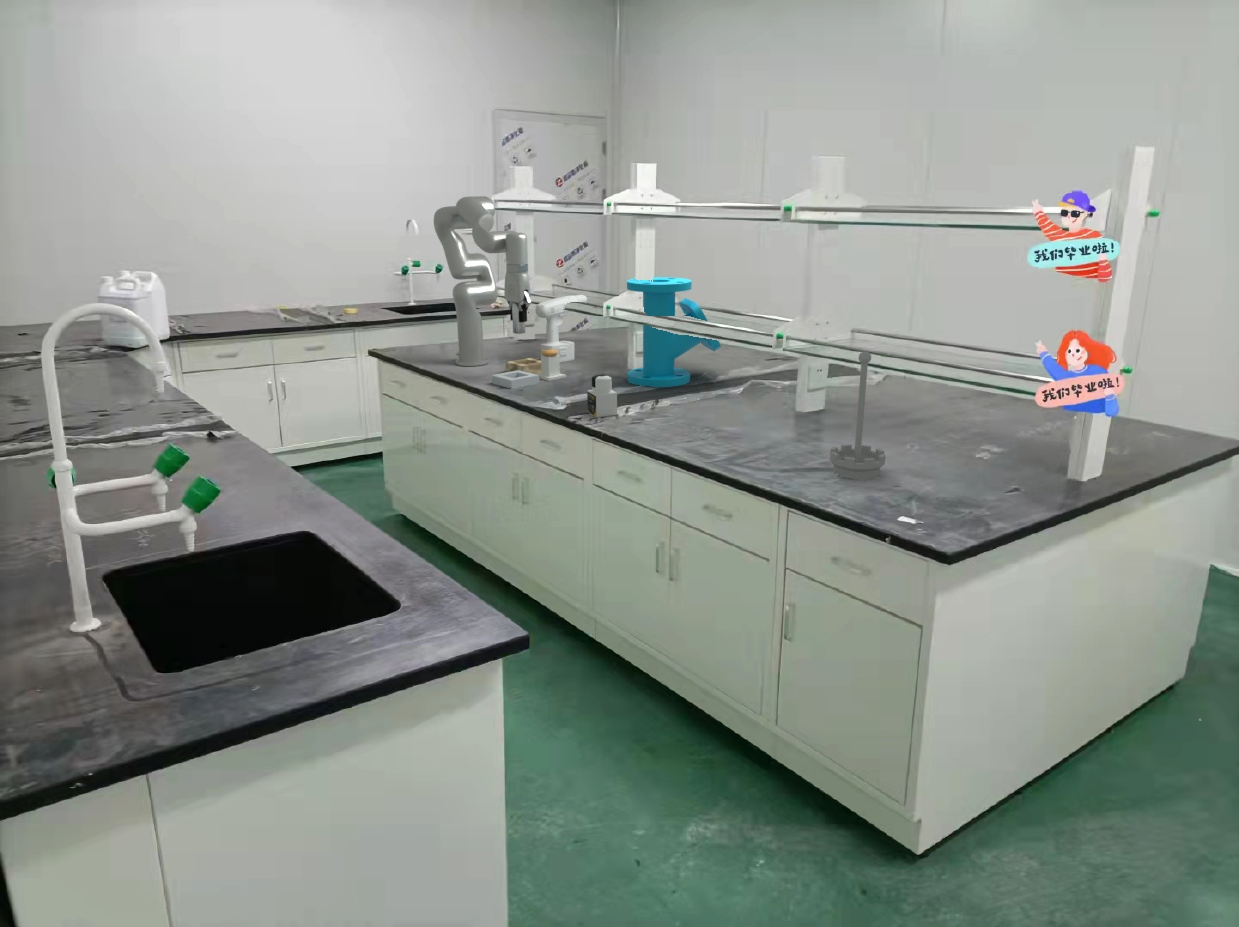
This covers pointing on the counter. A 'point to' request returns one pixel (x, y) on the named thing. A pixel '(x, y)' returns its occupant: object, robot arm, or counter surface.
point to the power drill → (557, 325)
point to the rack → (524, 365)
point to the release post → (550, 368)
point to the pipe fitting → (665, 333)
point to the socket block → (515, 379)
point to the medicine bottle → (602, 397)
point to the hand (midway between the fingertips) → (518, 320)
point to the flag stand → (858, 441)
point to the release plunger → (549, 352)
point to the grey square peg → (517, 319)
